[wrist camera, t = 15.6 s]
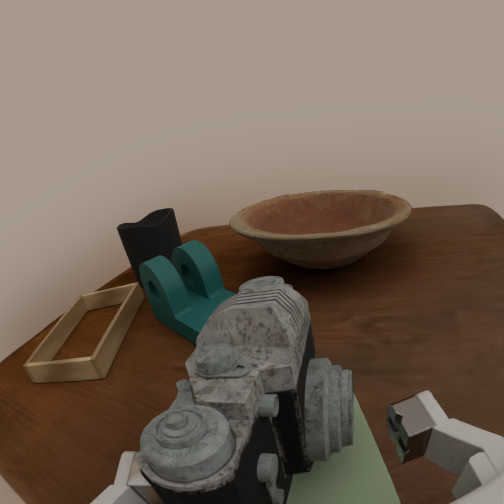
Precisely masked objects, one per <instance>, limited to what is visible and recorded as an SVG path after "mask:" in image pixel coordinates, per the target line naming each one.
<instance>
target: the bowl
mask: <svg viewBox="0 0 504 504" xmlns="http://www.w3.org/2000/svg"><path fill="white" fill-rule="evenodd" d="M411 209H412V206H411V205H410V204H409V203H408V201H406V200H405V199H402V198H400V197H397V196H394V195H390V194H385V193H383V192H382V191H376V190H372V191H371V190H330V191H318V192H306V193H299V194H292V195H282V196H278V197H275V198H272V199H269V200H264V201H262V202H259V203H256V204H254V205H251V206H249V207H246V208H244V209H242V210H241V211H239V212H238V213H236V214H235V215H234V216H233V217H232V218H231V220H230V223H229V224H230V227H231V229H232V230H234V231H235V232H236V233H238V234H240V235H242V236H244V237H246V238H249V239H253V240H256V241H257V242H258V244H259V245H261V246H262V247H263V248H264V249H265V250H266V251H267V252H268V253H270V254H271V255H273V256H275V257H277V258H280V259H284V260H286V261H287V262H289V263H291V264H294V265H297V266H301V267H304V268H307V269H334V268H339V267H343V266H346V265H349V264H352V263H354V262H355V261H357V260H359V259H360V258H362V257H363V256H364V255H366V254H367V253H369V252H370V251H372V250H373V249H375V248H376V247H378V246H379V245H380V244H382V243H383V242H384V241H385V240H386V239H387V238H388V237H389V235H390V234H391V232H392V230H393V228H394V227H395V226H396V225H398V224H400V223H401V222H403V221H404V220H406V219H407V218H408V217H409V216H410V214H411Z"/></svg>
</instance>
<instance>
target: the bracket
mask: <svg viewBox="0 0 504 504" xmlns="http://www.w3.org/2000/svg"><path fill="white" fill-rule="evenodd" d="M172 264H173V265H172ZM139 272H140V278H141V281H142V284H143V287H144V289H145V292H146V295H147V297H148V300H149V302H150V305H151V307H152V310H153V312H154V315H155V317H156V318H157V319H158V320H160V321H161V322H162V323H164V324H165V325H167V326H168V327H170V328H171V329H173V330H174V331H176V332H177V333H179V334H180V335H182V336H183V337H185V338H186V339H188V340H189V341H191V342H192V343H194V344H195V345H196V340H197V337H198V335H199V333H200V332H201V330H202V328H203V327H204V325H205V323H206V321H207V320H208V318H209V317H210V316H211V314H212V313H213V312H214V311H215V310H216V308H217V307H218V306H219V305H220V304H221V303H222V302H224V301H226V300H227V299H229V298H231V297H233V296H235V295H236V293H233V292H230V291H227V290H226V289H225V288H224V285H223V282H222V278H221V275H220V271H219V268H218V266H217V263H216V261H215V259H214V258H213V256H212V254H211V253H210V251H209V250H208V249H207V248H206V247H205V246H204V245H203V244H202V243H200V242H199V241H196V240H192V241H190V242H187V243H185V244H183V245H181V246H179V247H176V248H175V249H174V250H173V251H172V263H171V262H170V261H169V260H168V259H167V258H165V257H164V256H161V255H159V256H157V257H155V258H153V259H150V260H148V261H146V262H144V263H142V264H140V267H139Z"/></svg>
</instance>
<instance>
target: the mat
mask: <svg viewBox="0 0 504 504" xmlns="http://www.w3.org/2000/svg"><path fill="white" fill-rule="evenodd" d="M287 504H401V502H400V500H399V497H398V495H397V493H396V490H395V488H394V485H393V483H392V480H391V478H390V475H389V473H388V471H387V468H386V466H385V464H384V461H383V459H382V456H381V454H380V452H379V449H378V447H377V445H376V442H375V440H374V438H373V435H372V433H371V431H370V428H369V426H368V424H367V422H366V419H365V417H364V415H363V412H362V410H361V408H360V406H359V403H358V401H357V399H356V397H355V394H354V439H353V445H350V446H345V447H343V448H342V450H341V453H332V455H331V457H330V459H329V461H314V464H313V466H312V468H311V471H310V472H306V473H300V474H294V476H293V481H292V485H291V490H290V494H289V497H288V501H287Z"/></svg>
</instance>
